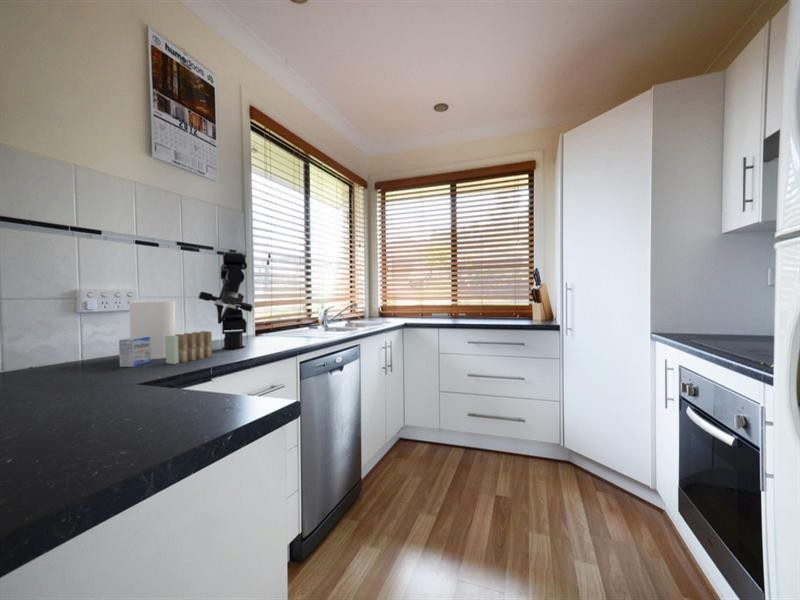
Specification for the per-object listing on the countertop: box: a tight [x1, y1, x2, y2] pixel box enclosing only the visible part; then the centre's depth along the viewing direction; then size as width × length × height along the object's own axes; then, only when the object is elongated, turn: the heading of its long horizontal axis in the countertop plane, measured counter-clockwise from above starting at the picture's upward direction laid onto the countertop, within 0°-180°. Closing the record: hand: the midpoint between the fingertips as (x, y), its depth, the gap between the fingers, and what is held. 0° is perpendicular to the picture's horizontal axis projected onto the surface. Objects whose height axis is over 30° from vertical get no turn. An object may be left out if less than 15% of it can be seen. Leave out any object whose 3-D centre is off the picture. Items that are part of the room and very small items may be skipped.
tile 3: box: [183, 332, 197, 361], centre depth 123 cm, size 1×4×9 cm, turn 69°
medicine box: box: [118, 336, 152, 368], centre depth 115 cm, size 8×4×9 cm, turn 179°
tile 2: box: [191, 331, 205, 360], centre depth 126 cm, size 1×4×9 cm, turn 69°
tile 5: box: [165, 335, 180, 365], centre depth 117 cm, size 1×4×9 cm, turn 69°
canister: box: [129, 300, 177, 360], centre depth 129 cm, size 14×14×20 cm
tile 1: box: [200, 330, 213, 358], centre depth 129 cm, size 1×4×9 cm, turn 69°
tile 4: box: [175, 333, 189, 363], centre depth 120 cm, size 1×4×9 cm, turn 69°
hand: (219, 323), depth 136 cm, fingers closed
